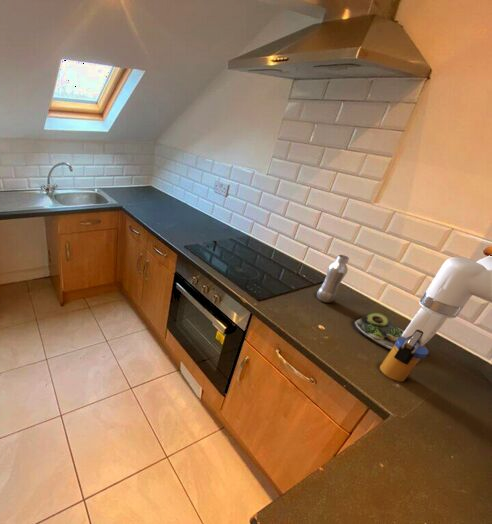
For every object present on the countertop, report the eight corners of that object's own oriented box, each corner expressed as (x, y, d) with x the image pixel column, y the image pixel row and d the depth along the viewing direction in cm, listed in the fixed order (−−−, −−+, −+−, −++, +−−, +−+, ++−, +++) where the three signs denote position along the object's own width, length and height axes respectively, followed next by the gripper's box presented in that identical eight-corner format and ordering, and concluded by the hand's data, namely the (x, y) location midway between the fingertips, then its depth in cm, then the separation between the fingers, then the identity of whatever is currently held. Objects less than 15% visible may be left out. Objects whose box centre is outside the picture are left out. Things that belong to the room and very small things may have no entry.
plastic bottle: (335, 302, 122) (356, 258, 113) (327, 306, 119) (348, 262, 109) (320, 294, 127) (339, 251, 117) (311, 298, 123) (331, 254, 114)
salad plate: (432, 348, 102) (439, 338, 99) (408, 365, 93) (416, 354, 91) (371, 315, 116) (377, 305, 114) (346, 327, 108) (352, 317, 105)
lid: (397, 352, 82) (400, 348, 81) (392, 337, 88) (394, 333, 87) (429, 362, 80) (432, 358, 79) (421, 347, 85) (424, 342, 84)
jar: (400, 372, 90) (418, 346, 85) (406, 387, 85) (426, 360, 80) (376, 364, 92) (393, 338, 87) (380, 378, 87) (398, 351, 82)
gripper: (432, 289, 84) (401, 337, 92) (411, 306, 75) (378, 358, 83) (467, 303, 79) (431, 353, 87) (449, 323, 69) (410, 377, 77)
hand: (405, 355), depth 85 cm, fingers closed on lid, 6 cm apart
